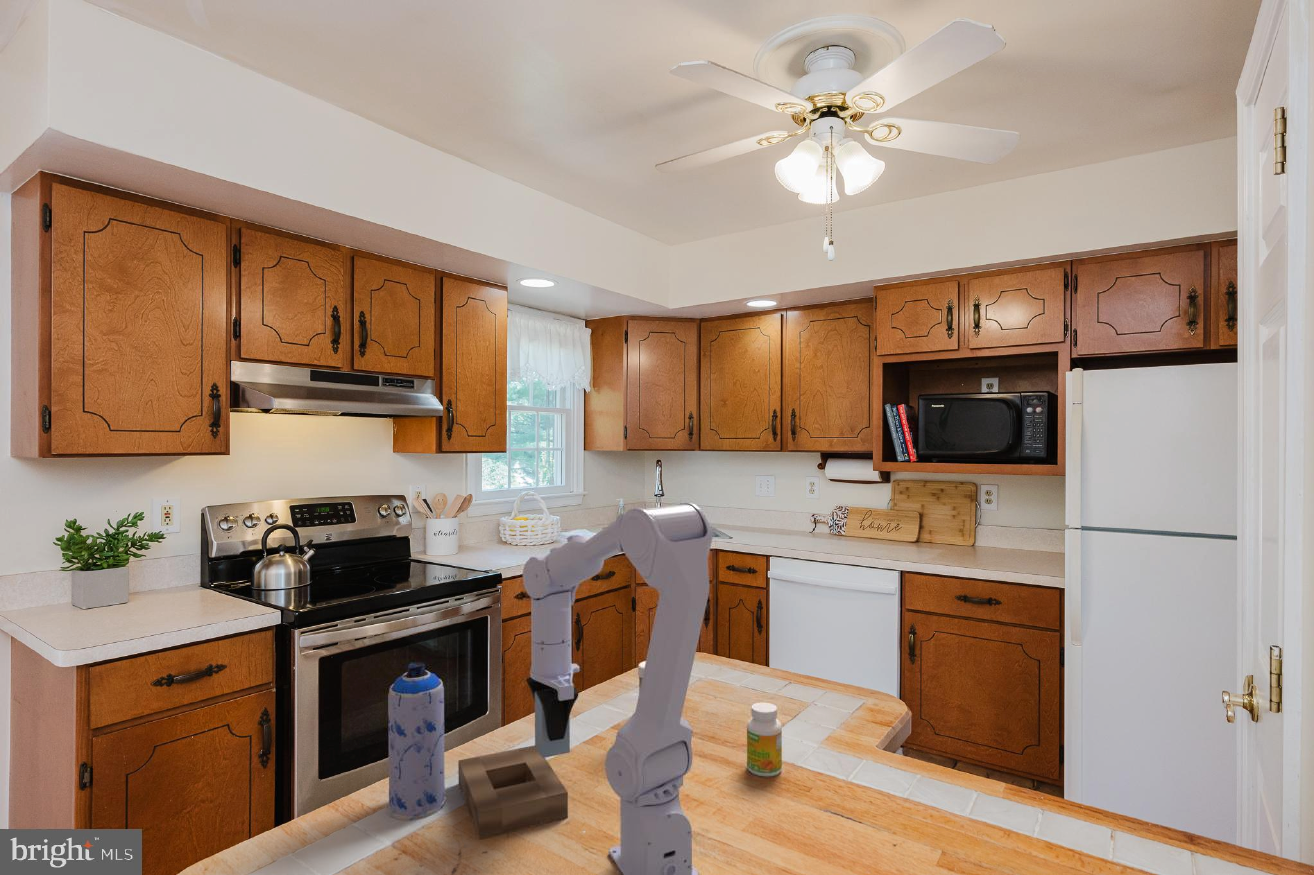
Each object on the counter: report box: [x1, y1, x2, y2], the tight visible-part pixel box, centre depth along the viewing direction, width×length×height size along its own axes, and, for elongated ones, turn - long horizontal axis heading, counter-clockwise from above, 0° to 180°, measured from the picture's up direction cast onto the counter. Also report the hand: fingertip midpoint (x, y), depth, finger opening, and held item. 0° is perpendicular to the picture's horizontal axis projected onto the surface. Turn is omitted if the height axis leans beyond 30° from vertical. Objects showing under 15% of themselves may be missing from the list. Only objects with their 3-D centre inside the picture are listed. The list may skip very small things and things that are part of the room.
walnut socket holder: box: [457, 744, 569, 840], centre depth 101 cm, size 16×12×4 cm
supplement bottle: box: [746, 702, 783, 777], centre depth 110 cm, size 5×5×10 cm
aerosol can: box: [387, 661, 447, 821], centre depth 100 cm, size 8×8×20 cm
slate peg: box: [534, 689, 571, 759], centre depth 101 cm, size 4×4×8 cm
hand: (551, 732), depth 101 cm, fingers closed on slate peg, 4 cm apart
